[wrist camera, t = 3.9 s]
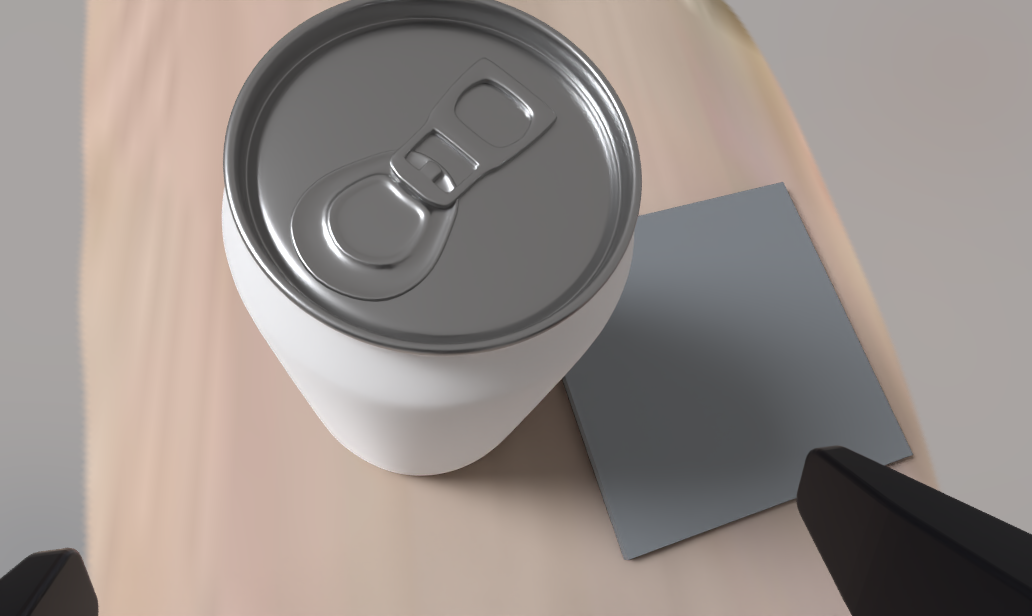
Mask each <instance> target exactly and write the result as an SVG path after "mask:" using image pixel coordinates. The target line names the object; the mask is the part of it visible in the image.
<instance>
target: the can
mask: <svg viewBox="0 0 1032 616" xmlns="http://www.w3.org/2000/svg"><path fill="white" fill-rule="evenodd" d="M223 172H224V183H225V188H224V194H223V203H222V231H223V240H224V246H225V251H226V256H227V260H228V263H229V267H230V270H231V273H232V276H233V279H234V282H235V285H236V287H237V290H238V292H239V294H240V296H241V299H242V301H243V303H244V305H245V306H246V308H247V310H248V312H249V314H250V315H251V317H252V319H253V321H254V322H255V324H256V326H257V327H258V329H259V331H260V332H261V334H262V335H263V337H264V338H265V340H266V341H267V343H268V344H269V346H270V347H271V349H272V350H273V352H274V353H275V355H276V356H277V358H278V359H279V361H280V362H281V364H282V365H283V367H284V368H285V370H286V371H287V372H288V374H289V375H290V377H291V378H292V380H293V381H294V383H295V384H296V386H297V387H298V388H299V390H300V391H301V393H302V394H303V396H304V397H305V399H306V400H307V401H308V403H309V404H310V406H311V407H312V409H313V410H314V411H315V413H316V414H317V415H318V417H319V418H320V420H321V421H322V422H323V424H324V425H325V426H326V428H327V429H328V430H329V431H330V433H331V434H332V435H333V436H334V437H335V438H336V439H337V440H338V441H339V442H340V443H341V444H342V445H343V446H345V447H346V448H347V449H348V450H350V451H351V452H352V453H354V454H355V455H357V456H358V457H360V458H362V459H363V460H365V461H367V462H369V463H371V464H373V465H375V466H377V467H379V468H382V469H384V470H387V471H390V472H394V473H399V474H405V475H417V476H422V475H435V474H441V473H446V472H450V471H453V470H457V469H459V468H462V467H464V466H467V465H469V464H471V463H473V462H475V461H477V460H478V459H480V458H482V457H483V456H485V455H486V454H487V453H489V452H490V451H491V450H493V449H494V448H495V447H496V446H497V445H499V444H500V443H501V442H502V441H503V440H504V439H505V438H506V437H507V436H508V435H509V434H510V433H511V432H512V431H513V430H514V429H515V428H516V427H517V426H518V425H519V424H520V423H521V421H522V420H523V419H524V418H525V417H526V416H527V415H528V414H529V413H530V412H531V411H532V410H533V409H534V408H535V407H536V406H537V405H538V404H539V403H540V401H541V400H542V399H543V398H544V397H545V396H546V395H547V394H548V393H549V392H550V391H551V390H552V389H553V388H554V386H555V385H556V384H557V383H558V382H559V381H560V380H561V379H562V378H563V377H564V376H565V375H566V373H567V372H568V371H569V370H570V369H571V368H572V367H573V366H574V365H575V363H576V362H577V361H578V360H579V359H580V358H581V357H582V355H583V354H584V353H585V352H586V351H587V349H588V348H589V347H590V346H591V344H592V343H593V342H594V340H595V339H596V338H597V337H598V335H599V334H600V332H601V331H602V330H603V328H604V327H605V325H606V323H607V322H608V320H609V318H610V316H611V315H612V313H613V311H614V309H615V307H616V305H617V303H618V301H619V299H620V296H621V294H622V292H623V289H624V286H625V283H626V281H627V277H628V274H629V270H630V266H631V261H632V255H633V247H634V229H635V226H636V222H637V218H638V214H639V208H640V201H641V191H642V173H641V162H640V155H639V150H638V145H637V141H636V137H635V134H634V131H633V128H632V125H631V122H630V120H629V117H628V115H627V112H626V110H625V108H624V106H623V104H622V102H621V100H620V99H619V97H618V95H617V94H616V92H615V90H614V89H613V87H612V86H611V84H610V83H609V81H608V80H607V79H606V77H605V76H604V75H603V73H602V72H601V71H600V70H599V68H598V67H597V66H596V65H595V64H594V63H593V62H592V61H591V60H590V58H589V57H588V56H587V55H586V54H585V53H583V52H582V51H581V50H580V49H579V48H578V47H577V46H576V45H575V44H574V43H572V42H571V41H570V40H569V39H567V38H566V37H565V36H563V35H562V34H561V33H559V32H558V31H556V30H555V29H553V28H552V27H550V26H549V25H547V24H546V23H544V22H542V21H540V20H539V19H537V18H535V17H533V16H531V15H529V14H527V13H525V12H523V11H521V10H519V9H516V8H514V7H512V6H509V5H506V4H504V3H501V2H498V1H495V0H349V1H347V2H344V3H341V4H338V5H336V6H334V7H331V8H329V9H327V10H325V11H323V12H321V13H319V14H317V15H315V16H313V17H311V18H310V19H308V20H306V21H305V22H303V23H302V24H300V25H298V26H297V27H296V28H294V29H293V30H291V31H290V32H289V33H288V34H286V35H285V36H284V37H283V38H282V39H280V40H279V41H278V42H277V43H276V44H275V45H274V46H273V47H272V48H271V49H270V50H269V51H268V52H267V53H266V54H265V55H264V57H263V58H262V59H261V60H260V61H259V63H258V64H257V65H256V66H255V68H254V69H253V71H252V72H251V74H250V75H249V77H248V78H247V80H246V82H245V83H244V85H243V87H242V89H241V91H240V93H239V95H238V97H237V99H236V101H235V104H234V106H233V109H232V112H231V115H230V118H229V122H228V126H227V131H226V136H225V143H224V153H223Z"/></svg>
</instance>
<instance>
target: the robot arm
mask: <svg viewBox="0 0 1032 616" xmlns="http://www.w3.org/2000/svg"><path fill="white" fill-rule="evenodd" d="M797 507H798V510H799V513H800V515H801V517H802V519H803V521H804V523H805V525H806V527H807V529H808V531H809V533H810V535H811V537H812V539H813V541H814V543H815V545H816V547H817V549H818V551H819V553H820V555H821V557H822V559H823V561H824V563H825V564H826V566H827V568H828V570H829V572H830V574H831V576H832V578H833V580H834V582H835V584H836V586H837V588H838V590H839V592H840V594H841V596H842V598H843V600H844V602H845V604H846V605H847V607H848V609H849V611H850V613H851V615H852V616H1032V534H1029V533H1027V532H1025V531H1023V530H1021V529H1019V528H1017V527H1014V526H1012V525H1010V524H1008V523H1006V522H1004V521H1002V520H1000V519H997V518H995V517H993V516H991V515H989V514H987V513H985V512H982V511H980V510H978V509H976V508H974V507H972V506H970V505H968V504H965V503H963V502H961V501H959V500H957V499H955V498H952V497H950V496H948V495H946V494H944V493H942V492H940V491H938V490H936V489H933V488H931V487H929V486H927V485H925V484H923V483H921V482H918V481H916V480H914V479H912V478H910V477H908V476H906V475H904V474H901V473H899V472H897V471H895V470H893V469H891V468H889V467H886V466H884V465H882V464H880V463H878V462H876V461H874V460H872V459H869V458H867V457H865V456H863V455H861V454H859V453H857V452H854V451H852V450H850V449H848V448H846V447H843V446H839V445H834V446H826V447H819V448H814V449H812V450H811V451H810V452H809V453H808V454H807V456H806V459H805V463H804V467H803V471H802V475H801V479H800V483H799V486H798V490H797ZM0 616H98V600H97V596H96V593H95V591H94V588H93V586H92V583H91V580H90V578H89V575H88V573H87V570H86V567H85V565H84V562H83V560H82V557H81V555H80V554H79V552H78V551H77V550H75V549H72V548H63V549H56V550H48V551H41V552H37V553H33V554H31V555H29V556H28V557H26V558H25V559H24V560H22V561H21V562H20V563H19V564H18V565H16V566H15V567H14V568H13V569H12V570H10V571H9V572H8V573H7V574H6V575H4V576H3V577H2V578H1V579H0Z"/></svg>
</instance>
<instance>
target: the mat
mask: <svg viewBox="0 0 1032 616" xmlns="http://www.w3.org/2000/svg"><path fill="white" fill-rule="evenodd" d="M562 380H563V383H564V386H565V388H566V391H567V394H568V397H569V400H570V403H571V406H572V409H573V412H574V415H575V418H576V421H577V423H578V426H579V429H580V432H581V435H582V438H583V441H584V444H585V447H586V450H587V453H588V455H589V458H590V461H591V464H592V467H593V470H594V473H595V476H596V479H597V482H598V485H599V487H600V490H601V493H602V496H603V499H604V502H605V505H606V508H607V511H608V514H609V517H610V520H611V522H612V525H613V528H614V531H615V534H616V537H617V540H618V543H619V546H620V549H621V552H622V554H623V557H624V559H625V560H629V559H632V558H635V557H637V556H640V555H643V554H646V553H648V552H651V551H654V550H656V549H659V548H662V547H665V546H667V545H670V544H673V543H675V542H678V541H681V540H683V539H686V538H689V537H692V536H694V535H697V534H700V533H702V532H705V531H708V530H711V529H713V528H716V527H719V526H721V525H724V524H727V523H729V522H732V521H735V520H738V519H740V518H743V517H746V516H748V515H751V514H754V513H757V512H759V511H762V510H765V509H767V508H770V507H773V506H775V505H778V504H781V503H784V502H786V501H789V500H792V499H794V498H797V490H798V486H799V483H800V479H801V475H802V471H803V467H804V463H805V459H806V456H807V454H808V453H809V452H810V451H811V450H812V449H814V448H819V447H826V446H834V445H839V446H843V447H846V448H848V449H850V450H852V451H854V452H857V453H859V454H861V455H863V456H865V457H867V458H869V459H872V460H874V461H876V462H878V463H880V464H882V465H886V464H889V463H892V462H895V461H897V460H900V459H903V458H905V457H908V456H911V455H913V453H912V451H911V449H910V447H909V445H908V443H907V441H906V439H905V437H904V435H903V432H902V430H901V428H900V426H899V424H898V422H897V420H896V418H895V416H894V414H893V411H892V409H891V407H890V405H889V403H888V401H887V399H886V397H885V395H884V393H883V391H882V388H881V386H880V384H879V382H878V380H877V378H876V376H875V374H874V372H873V370H872V367H871V365H870V363H869V361H868V359H867V357H866V355H865V353H864V351H863V349H862V346H861V344H860V342H859V340H858V338H857V336H856V334H855V332H854V330H853V328H852V326H851V323H850V321H849V319H848V317H847V315H846V313H845V311H844V309H843V307H842V305H841V302H840V300H839V298H838V296H837V294H836V292H835V290H834V288H833V286H832V284H831V281H830V279H829V277H828V275H827V273H826V271H825V269H824V267H823V265H822V263H821V261H820V258H819V256H818V254H817V252H816V250H815V248H814V246H813V244H812V242H811V240H810V237H809V235H808V233H807V231H806V229H805V227H804V225H803V223H802V221H801V219H800V216H799V214H798V212H797V210H796V208H795V206H794V204H793V202H792V200H791V198H790V195H789V193H788V191H787V189H786V187H785V185H784V183H783V182H781V183H776V184H772V185H768V186H764V187H759V188H755V189H751V190H747V191H743V192H738V193H734V194H730V195H726V196H721V197H717V198H713V199H709V200H705V201H700V202H696V203H692V204H688V205H683V206H679V207H675V208H671V209H666V210H662V211H658V212H654V213H650V214H645V215H641V216H638V218H637V222H636V226H635V229H634V247H633V255H632V261H631V266H630V270H629V274H628V277H627V281H626V283H625V286H624V289H623V292H622V294H621V296H620V299H619V301H618V303H617V305H616V307H615V309H614V311H613V313H612V315H611V316H610V318H609V320H608V322H607V323H606V325H605V327H604V328H603V330H602V331H601V332H600V334H599V335H598V337H597V338H596V339H595V340H594V342H593V343H592V344H591V346H590V347H589V348H588V349H587V351H586V352H585V353H584V354H583V355H582V357H581V358H580V359H579V360H578V361H577V362H576V363H575V365H574V366H573V367H572V368H571V369H570V370H569V371H568V372H567V373H566V375H565V376H564V377H563V378H562Z"/></svg>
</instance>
